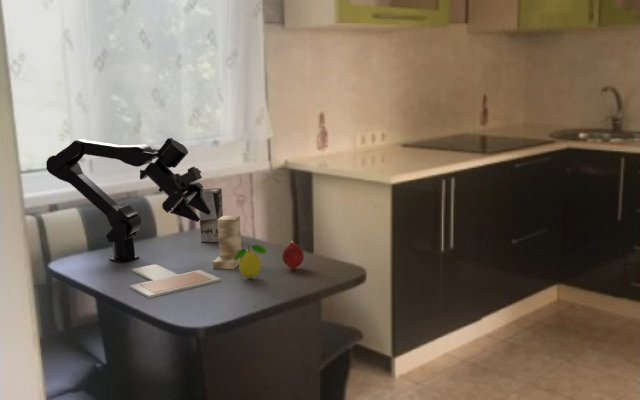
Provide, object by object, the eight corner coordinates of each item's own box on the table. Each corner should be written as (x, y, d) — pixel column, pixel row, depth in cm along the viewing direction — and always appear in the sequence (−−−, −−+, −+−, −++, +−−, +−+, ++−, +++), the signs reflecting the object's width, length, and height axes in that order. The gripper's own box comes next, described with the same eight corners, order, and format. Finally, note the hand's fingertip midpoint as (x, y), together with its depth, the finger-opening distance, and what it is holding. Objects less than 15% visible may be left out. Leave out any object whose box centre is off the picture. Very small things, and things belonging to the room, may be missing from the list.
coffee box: (220, 241, 216) (217, 192, 213) (200, 242, 216) (197, 193, 213) (224, 235, 225) (222, 187, 222) (205, 235, 225) (202, 188, 222)
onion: (308, 268, 183) (307, 240, 182) (293, 273, 179) (292, 244, 177) (293, 265, 187) (292, 237, 186) (278, 269, 183) (277, 241, 181)
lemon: (267, 277, 176) (266, 240, 174) (254, 283, 171) (252, 245, 169) (247, 274, 180) (245, 238, 178) (233, 280, 175) (231, 243, 173)
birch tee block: (213, 268, 186) (210, 223, 184) (228, 255, 200) (226, 212, 197) (233, 269, 185) (231, 223, 183) (247, 255, 199) (245, 212, 196)
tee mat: (109, 275, 182) (108, 273, 181) (176, 261, 194) (176, 259, 194) (148, 298, 162) (148, 295, 162) (220, 280, 175) (220, 278, 174)
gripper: (169, 163, 180) (211, 203, 180) (194, 155, 198) (232, 191, 198) (144, 192, 183) (185, 232, 183) (171, 181, 201) (208, 217, 201)
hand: (204, 217), depth 191 cm, fingers open, 9 cm apart
